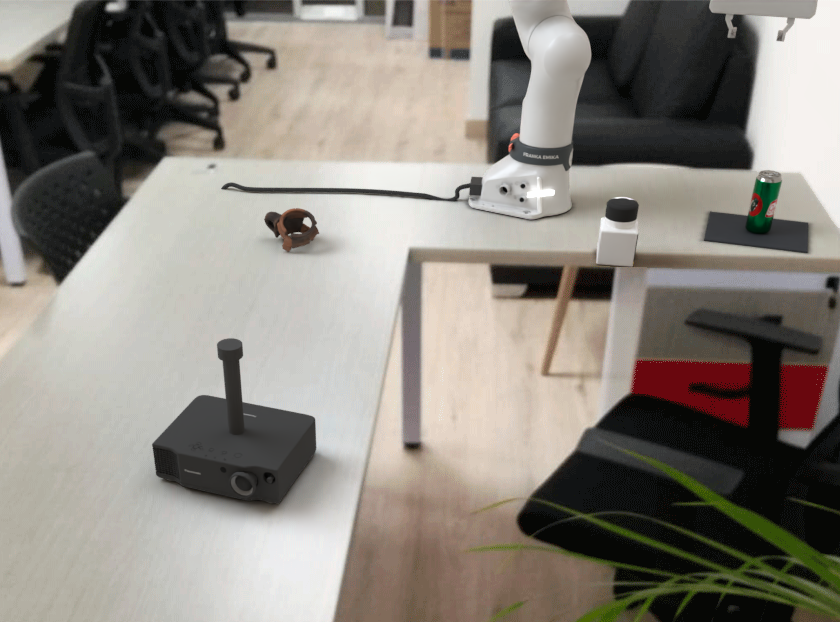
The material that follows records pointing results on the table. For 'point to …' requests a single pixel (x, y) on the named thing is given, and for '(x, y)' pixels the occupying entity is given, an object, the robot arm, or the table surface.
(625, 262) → the medicine bottle
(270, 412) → the projector
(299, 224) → the brown curved piece
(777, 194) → the soda can
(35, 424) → the table surface
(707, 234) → the desk pad
